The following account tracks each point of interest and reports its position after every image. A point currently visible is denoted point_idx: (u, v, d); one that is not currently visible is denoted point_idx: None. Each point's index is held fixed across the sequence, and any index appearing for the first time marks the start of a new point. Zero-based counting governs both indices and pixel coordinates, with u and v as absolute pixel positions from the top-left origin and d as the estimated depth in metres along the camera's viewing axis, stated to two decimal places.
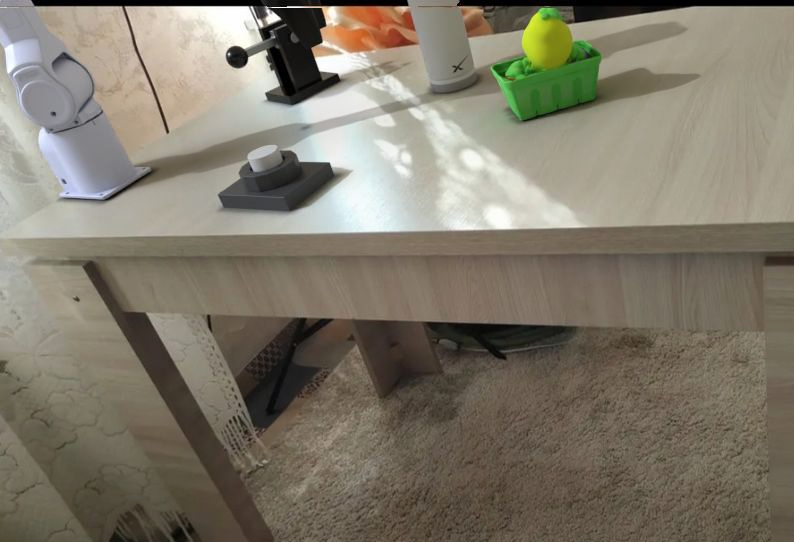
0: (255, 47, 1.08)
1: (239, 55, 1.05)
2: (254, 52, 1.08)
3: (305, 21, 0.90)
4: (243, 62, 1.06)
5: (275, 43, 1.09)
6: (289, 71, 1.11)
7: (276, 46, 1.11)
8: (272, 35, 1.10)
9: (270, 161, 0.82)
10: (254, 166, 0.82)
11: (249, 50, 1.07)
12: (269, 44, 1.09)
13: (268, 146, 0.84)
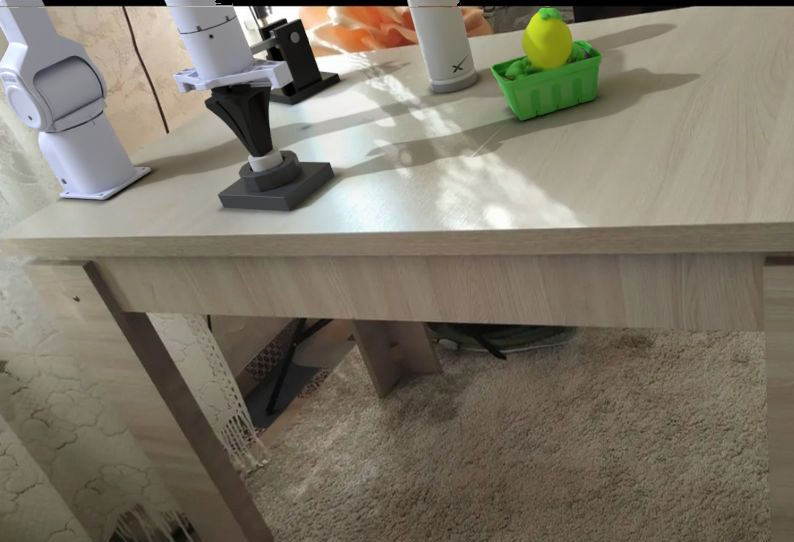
0: (255, 47, 1.08)
1: None
2: (254, 52, 1.08)
3: None
4: None
5: (275, 43, 1.09)
6: None
7: (276, 46, 1.11)
8: (272, 35, 1.10)
9: (271, 162, 0.82)
10: (255, 167, 0.82)
11: None
12: (269, 44, 1.09)
13: None
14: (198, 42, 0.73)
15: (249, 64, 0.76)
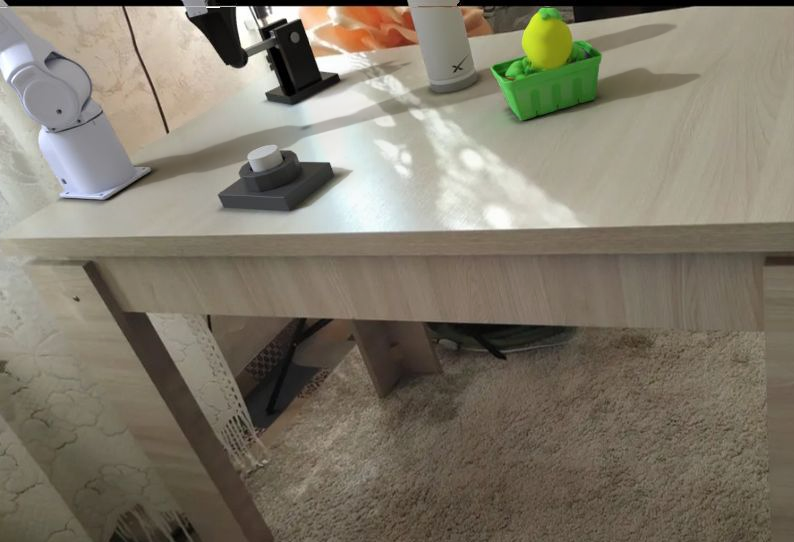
0: (255, 47, 1.08)
1: None
2: (254, 52, 1.08)
3: (227, 39, 0.94)
4: (243, 62, 1.06)
5: (275, 43, 1.09)
6: (289, 71, 1.11)
7: (276, 46, 1.11)
8: (272, 35, 1.10)
9: (270, 161, 0.82)
10: (254, 166, 0.82)
11: (249, 50, 1.07)
12: (269, 44, 1.09)
13: (268, 146, 0.84)
14: None
15: None
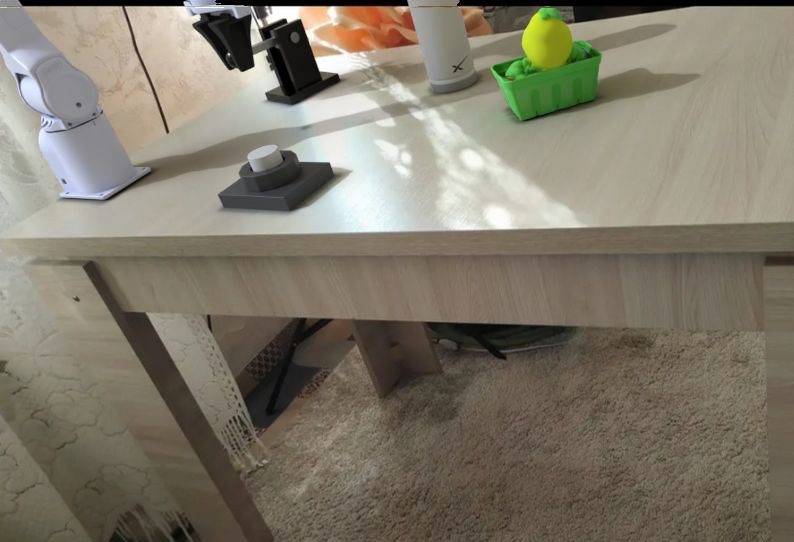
0: (255, 47, 1.08)
1: None
2: (254, 52, 1.08)
3: (243, 47, 1.05)
4: None
5: (275, 43, 1.09)
6: (289, 71, 1.11)
7: (276, 46, 1.11)
8: (272, 35, 1.10)
9: (270, 161, 0.82)
10: (254, 166, 0.82)
11: None
12: (269, 44, 1.09)
13: (268, 146, 0.84)
14: None
15: None
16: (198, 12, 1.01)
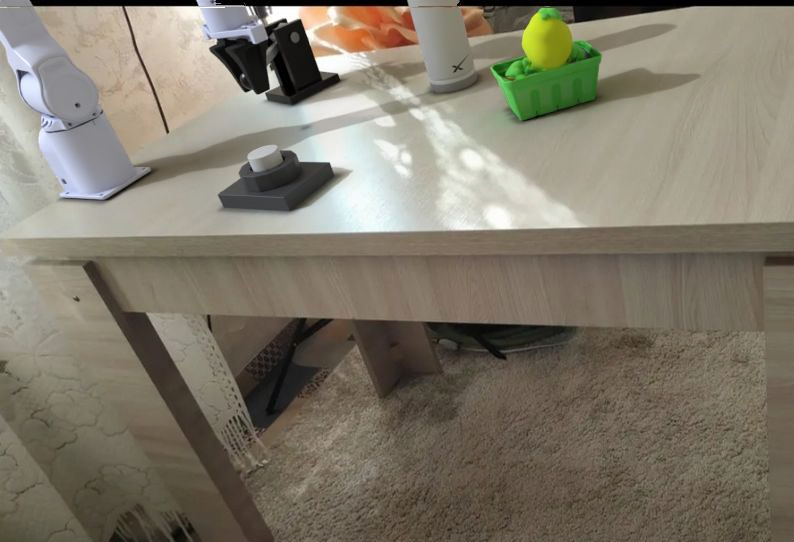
0: None
1: None
2: None
3: (259, 70, 1.07)
4: None
5: None
6: (289, 71, 1.11)
7: None
8: (273, 40, 1.10)
9: (270, 161, 0.82)
10: (254, 166, 0.82)
11: None
12: (274, 52, 1.10)
13: (268, 146, 0.84)
14: None
15: None
16: (215, 37, 1.03)
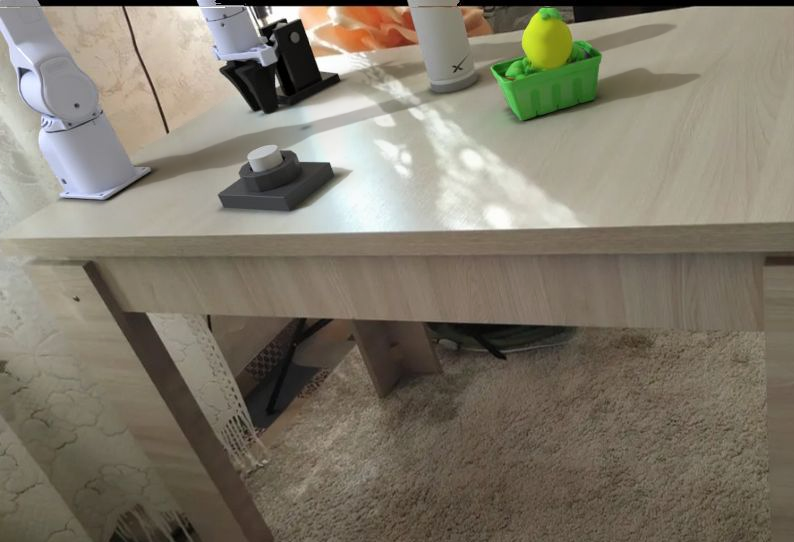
0: None
1: None
2: None
3: (268, 91, 1.09)
4: None
5: None
6: (289, 71, 1.11)
7: None
8: (274, 41, 1.10)
9: (270, 161, 0.82)
10: (254, 166, 0.82)
11: None
12: (277, 54, 1.10)
13: (268, 146, 0.84)
14: None
15: None
16: (225, 59, 1.05)
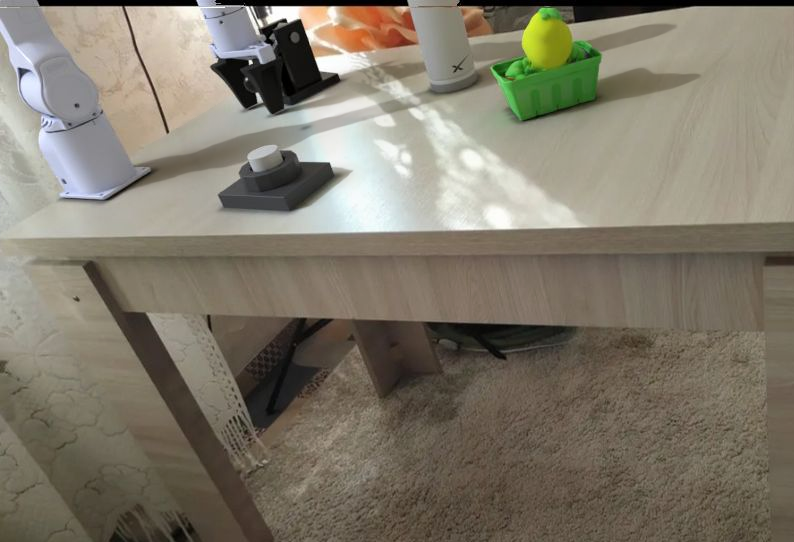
0: None
1: None
2: None
3: (273, 90, 1.07)
4: None
5: None
6: (289, 71, 1.11)
7: None
8: (273, 40, 1.10)
9: (270, 161, 0.82)
10: (254, 166, 0.82)
11: None
12: (276, 53, 1.10)
13: (268, 146, 0.84)
14: None
15: None
16: (223, 57, 1.05)
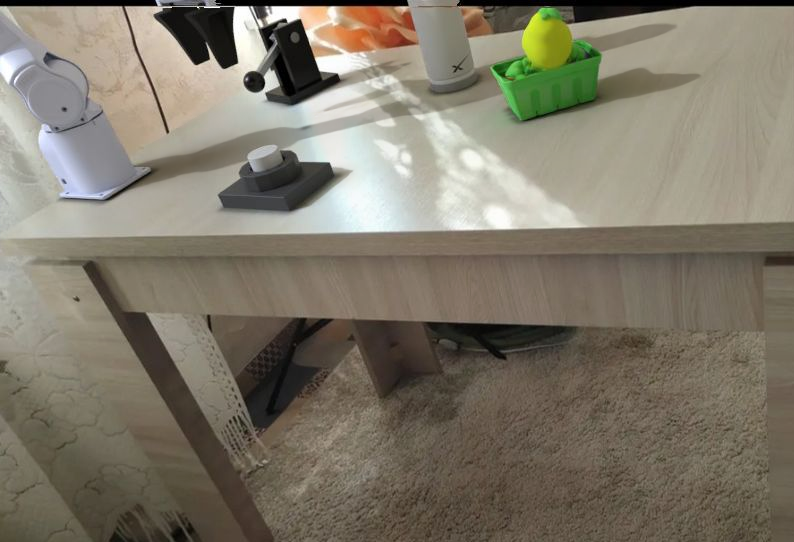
0: (265, 63, 1.09)
1: (256, 81, 1.08)
2: (266, 69, 1.10)
3: (225, 41, 0.93)
4: (262, 85, 1.09)
5: None
6: (289, 71, 1.11)
7: None
8: (273, 40, 1.10)
9: (270, 161, 0.82)
10: (254, 166, 0.82)
11: (261, 70, 1.09)
12: (276, 53, 1.10)
13: (268, 146, 0.84)
14: None
15: None
16: (165, 1, 0.91)
